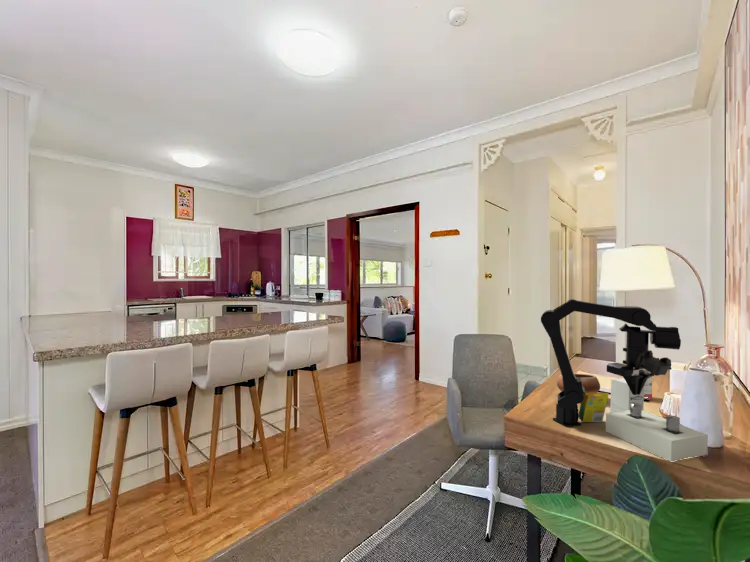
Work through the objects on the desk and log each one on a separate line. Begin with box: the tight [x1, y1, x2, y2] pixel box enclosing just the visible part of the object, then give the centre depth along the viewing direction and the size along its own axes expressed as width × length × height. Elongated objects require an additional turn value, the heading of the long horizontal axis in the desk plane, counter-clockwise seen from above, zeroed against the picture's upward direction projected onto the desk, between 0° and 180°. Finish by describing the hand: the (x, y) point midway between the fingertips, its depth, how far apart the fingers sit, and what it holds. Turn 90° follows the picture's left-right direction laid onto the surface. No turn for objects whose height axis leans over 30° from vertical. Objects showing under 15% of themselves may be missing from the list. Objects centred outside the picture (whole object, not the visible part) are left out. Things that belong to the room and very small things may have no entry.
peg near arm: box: [630, 402, 642, 419], centre depth 114 cm, size 3×3×6 cm
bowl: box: [556, 372, 601, 393], centre depth 149 cm, size 16×16×10 cm
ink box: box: [644, 372, 653, 401], centre depth 149 cm, size 9×5×12 cm, turn 84°
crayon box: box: [578, 392, 610, 423], centre depth 123 cm, size 7×3×12 cm, turn 93°
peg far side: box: [665, 414, 681, 434], centre depth 103 cm, size 3×3×6 cm
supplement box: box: [609, 377, 645, 413], centre depth 130 cm, size 7×7×13 cm
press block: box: [605, 409, 709, 461], centre depth 109 cm, size 14×20×6 cm
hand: (636, 394), depth 114 cm, fingers closed
